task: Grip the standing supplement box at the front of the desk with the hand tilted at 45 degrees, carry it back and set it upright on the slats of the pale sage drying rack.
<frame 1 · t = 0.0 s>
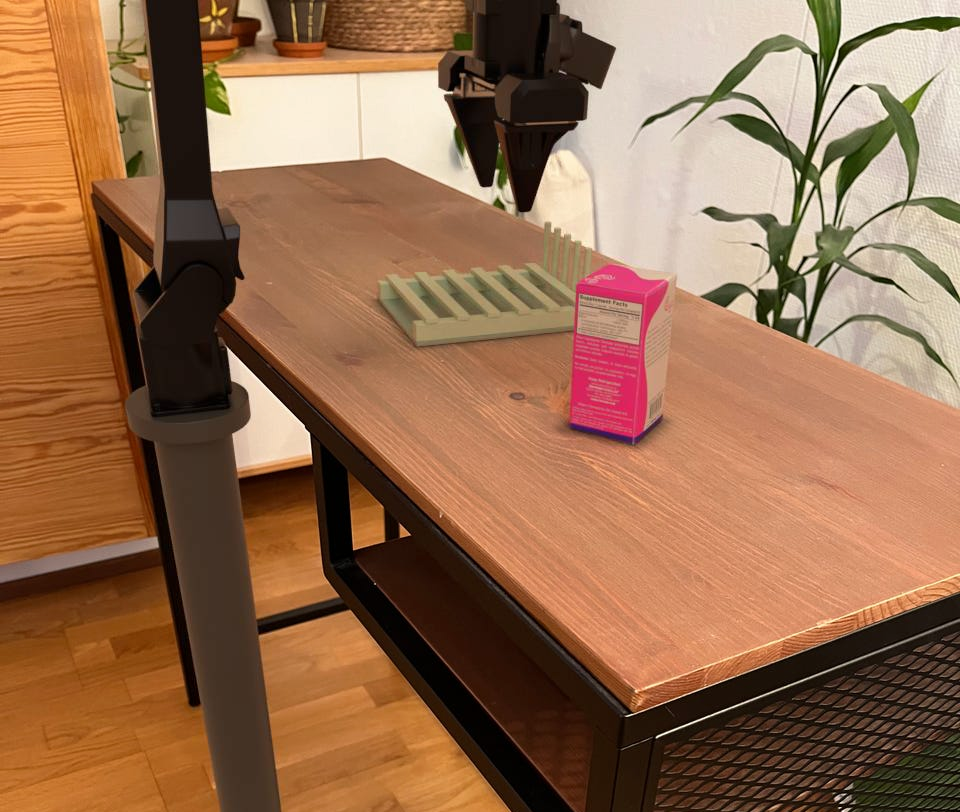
hand: (504, 198, 87), 13 cm above the table, tool pointing down, fingers open, 9 cm apart
supplement box: (614, 426, 81), on the table
drying rack: (483, 314, 102), on the table
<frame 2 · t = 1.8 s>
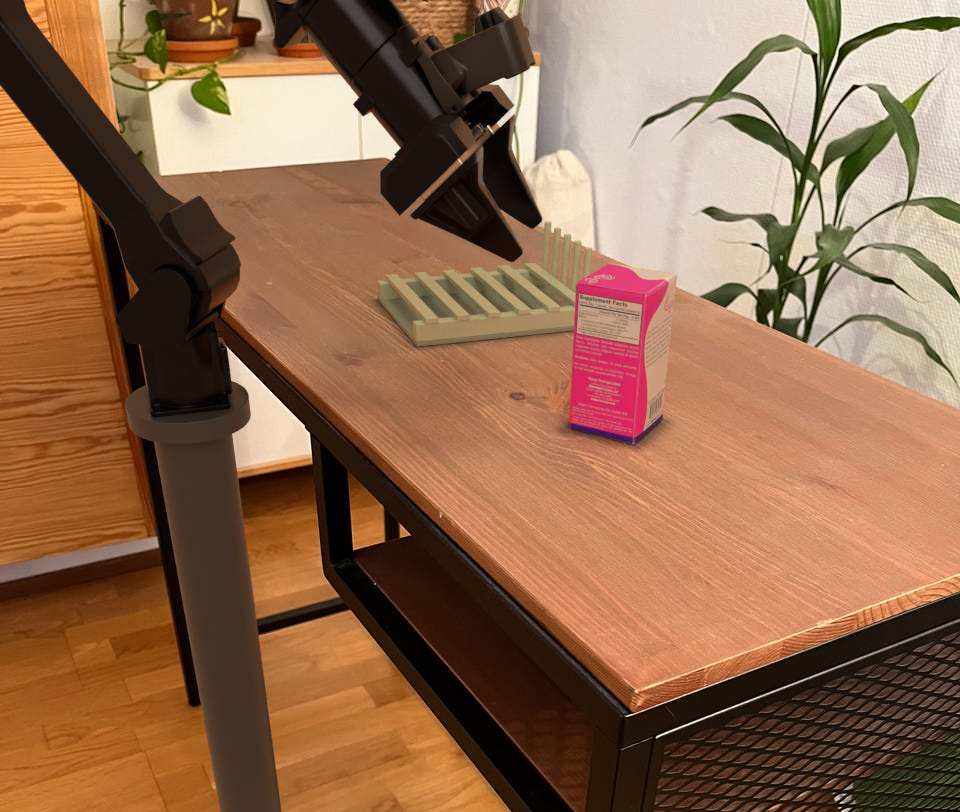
hand: (528, 240, 75), 13 cm above the table, tool tilted 45°, fingers open, 9 cm apart
nothing on the table moved.
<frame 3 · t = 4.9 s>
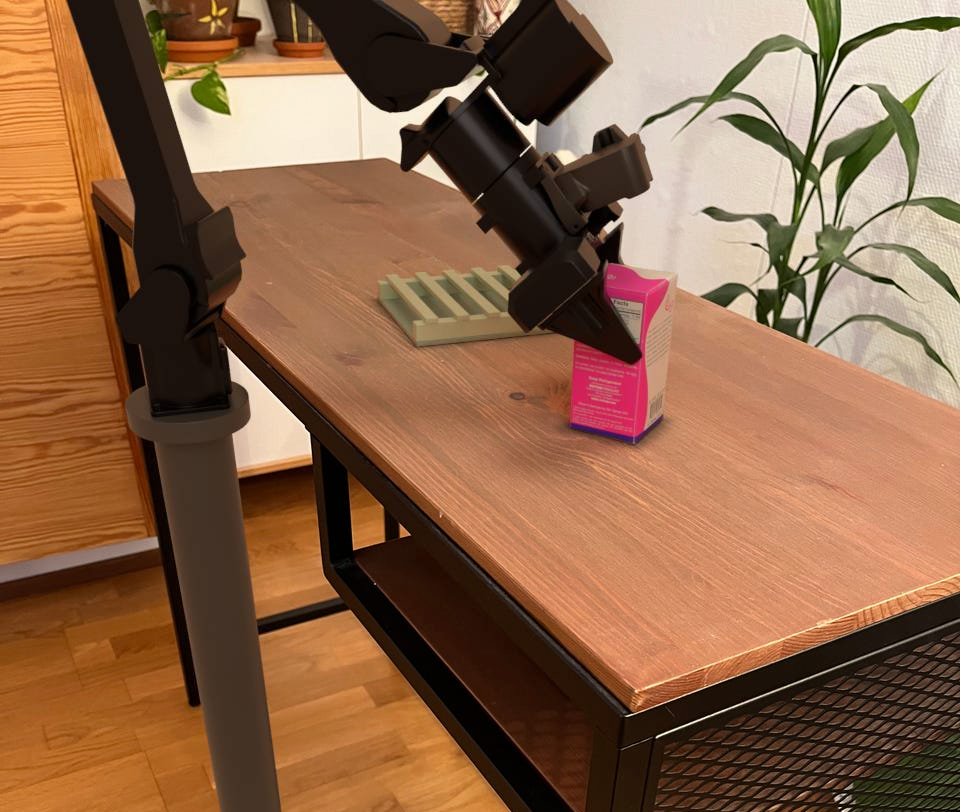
hand: (642, 343, 77), 7 cm above the table, tool tilted 45°, fingers closed on supplement box, 7 cm apart
supplement box: (614, 426, 81), on the table, touching gripper
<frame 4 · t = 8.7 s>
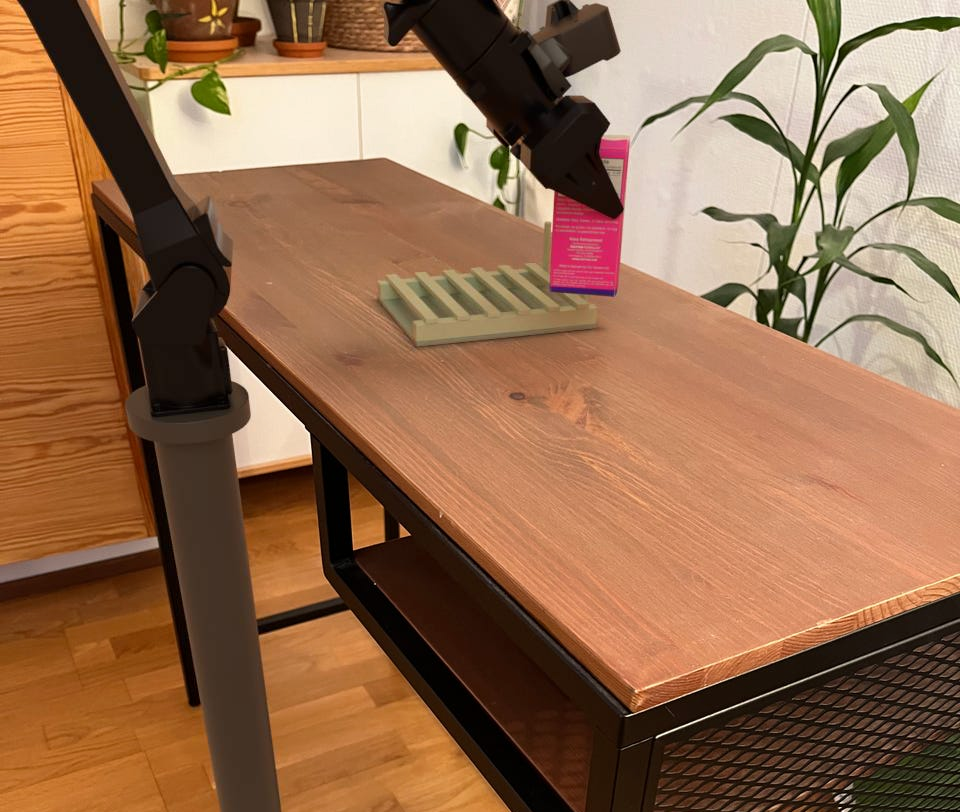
hand: (607, 203, 85), 13 cm above the table, tool tilted 45°, fingers closed on supplement box, 7 cm apart
supplement box: (583, 288, 88), point 6 cm above the table, touching gripper
when the fingers open (9 cm above the table, at t = 12.4 s): supplement box stays where it is, resting on drying rack.
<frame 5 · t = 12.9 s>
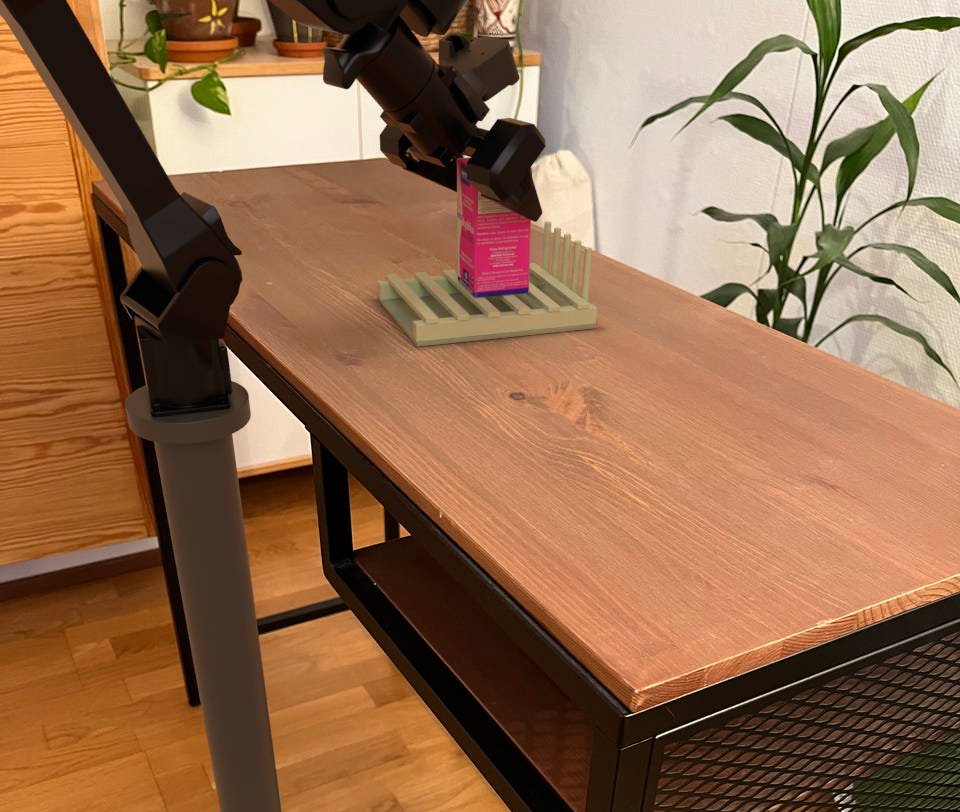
hand: (508, 206, 97), 10 cm above the table, tool tilted 45°, fingers open, 9 cm apart
supplement box: (492, 289, 101), point 2 cm above the table, touching drying rack
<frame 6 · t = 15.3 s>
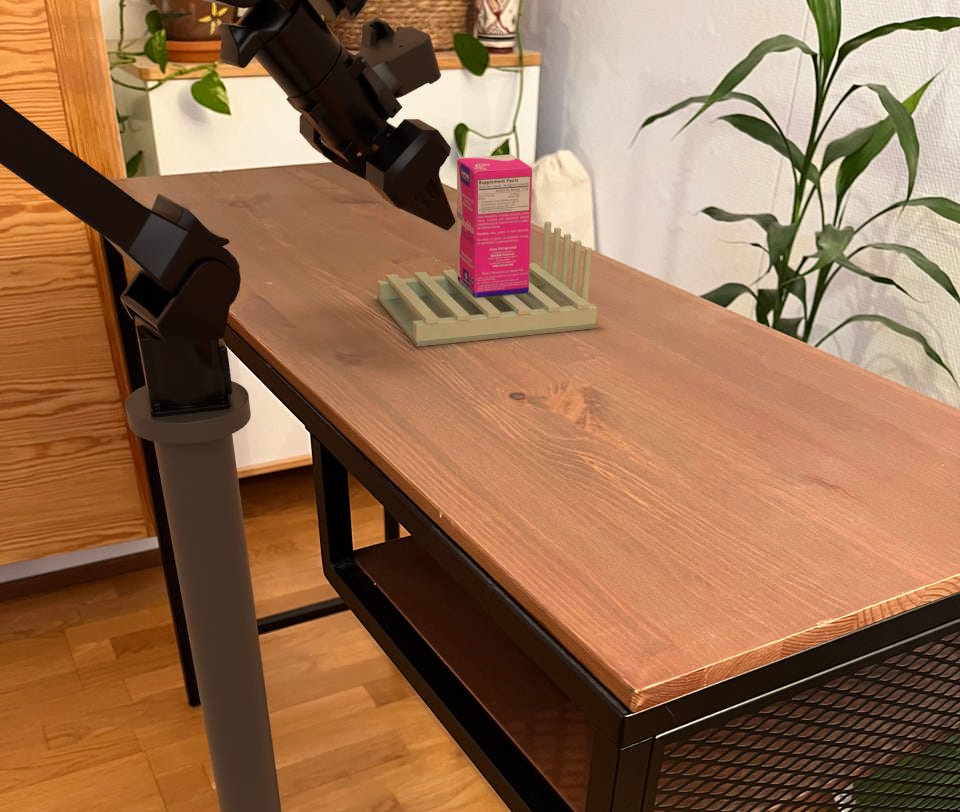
hand: (427, 209, 92), 11 cm above the table, tool tilted 40°, fingers open, 9 cm apart
nothing on the table moved.
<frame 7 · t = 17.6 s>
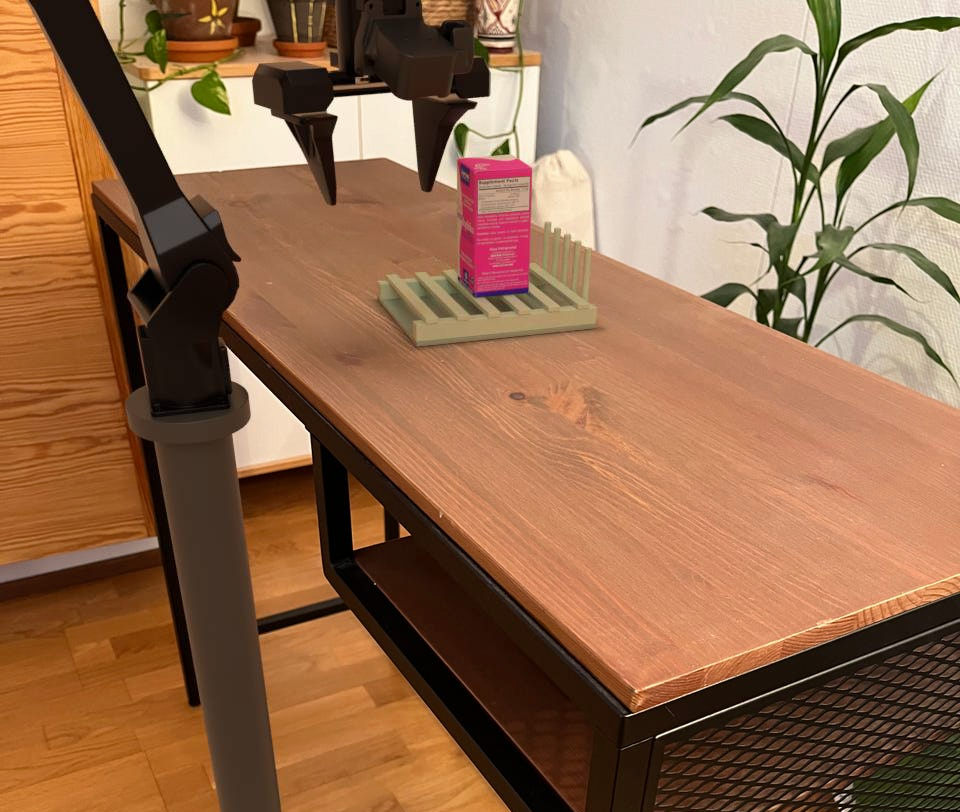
hand: (380, 198, 86), 13 cm above the table, tool pointing down, fingers open, 9 cm apart
nothing on the table moved.
at the end: supplement box inside the target area on the drying rack (0.8 cm from its centre), point 2.3 cm above the drying rack's base; supplement box tilted 0°; the gripper is holding nothing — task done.
